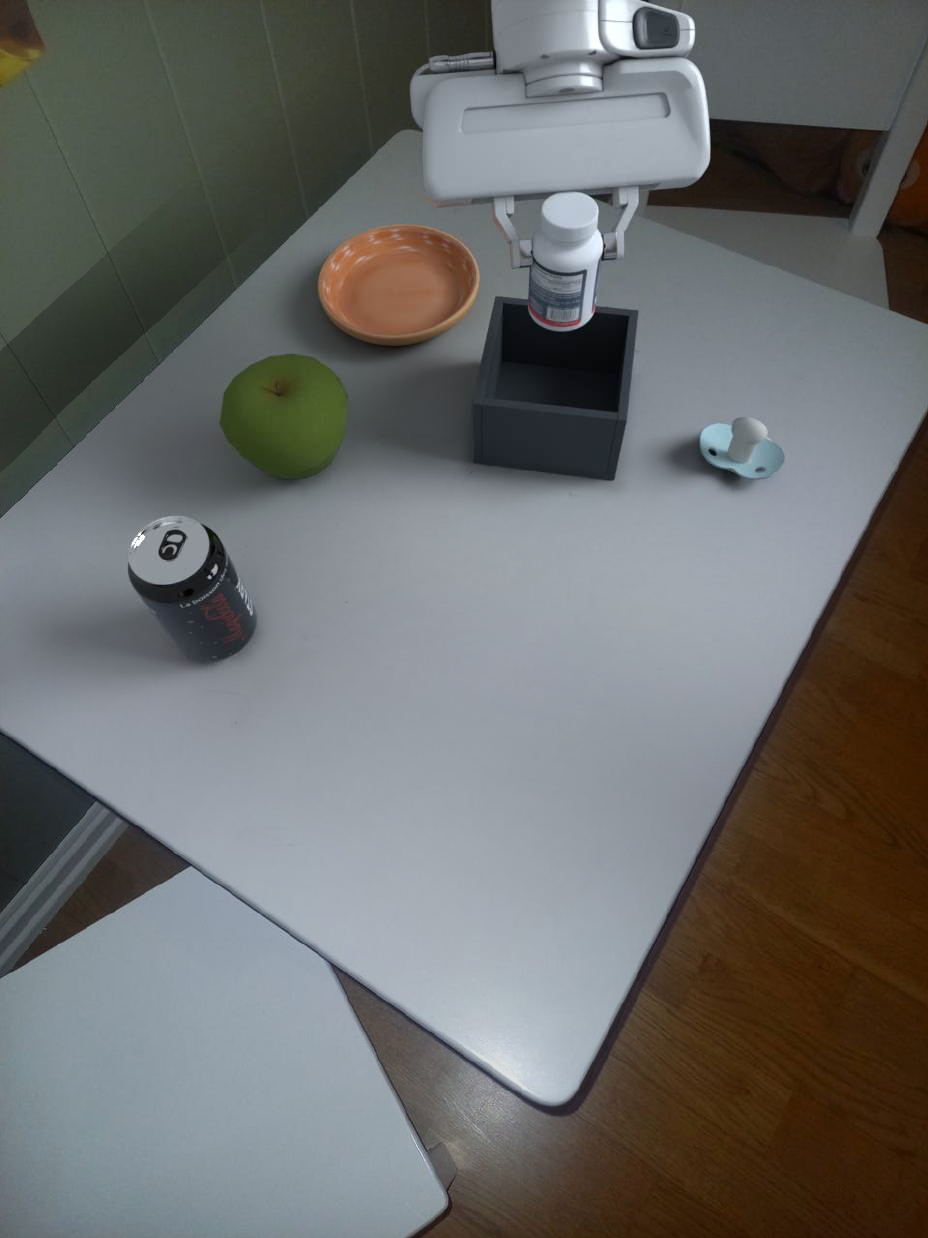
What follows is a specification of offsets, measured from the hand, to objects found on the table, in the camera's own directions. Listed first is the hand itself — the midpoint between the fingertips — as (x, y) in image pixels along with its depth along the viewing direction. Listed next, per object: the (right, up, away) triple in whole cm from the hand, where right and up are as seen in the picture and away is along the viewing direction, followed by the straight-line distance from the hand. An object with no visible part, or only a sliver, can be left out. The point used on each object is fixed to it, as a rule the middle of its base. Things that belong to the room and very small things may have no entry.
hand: (567, 263), depth 62 cm
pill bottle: (0, -2, +5) cm, 5 cm away
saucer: (-14, +6, +24) cm, 28 cm away
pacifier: (+17, -12, +14) cm, 25 cm away
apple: (-22, -12, +15) cm, 29 cm away
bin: (+1, -7, +16) cm, 18 cm away
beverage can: (-28, -27, +7) cm, 39 cm away
